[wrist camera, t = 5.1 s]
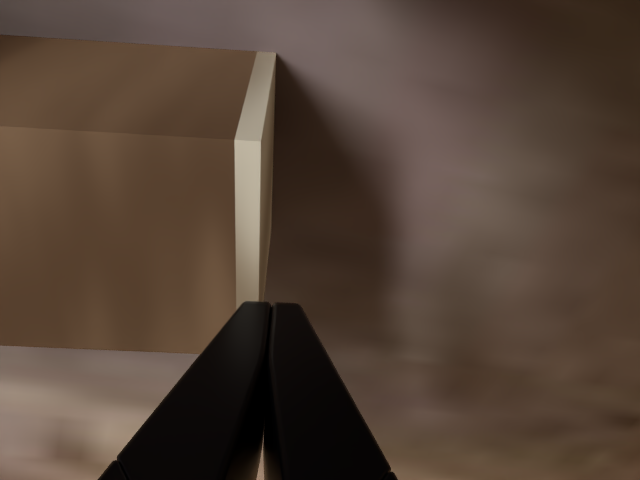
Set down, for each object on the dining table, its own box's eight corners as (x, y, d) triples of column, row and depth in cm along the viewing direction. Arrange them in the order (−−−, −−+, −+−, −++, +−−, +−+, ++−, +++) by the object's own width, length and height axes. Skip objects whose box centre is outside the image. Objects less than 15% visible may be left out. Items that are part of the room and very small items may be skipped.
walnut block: (257, 356, 12) (-284, 333, 11) (271, 229, 15) (-135, 208, 15) (261, 141, 9) (-436, 101, 9) (275, 52, 13) (-211, 20, 12)
